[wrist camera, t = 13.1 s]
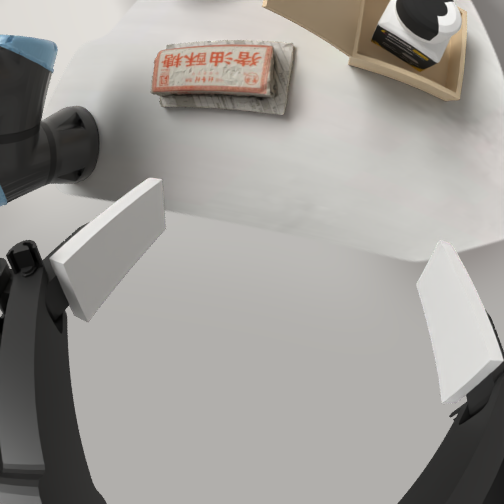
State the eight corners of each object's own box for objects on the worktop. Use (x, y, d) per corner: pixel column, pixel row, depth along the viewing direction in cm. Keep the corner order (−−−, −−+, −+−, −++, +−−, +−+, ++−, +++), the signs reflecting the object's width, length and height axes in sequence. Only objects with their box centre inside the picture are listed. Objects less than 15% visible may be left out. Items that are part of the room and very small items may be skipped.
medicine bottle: (369, 41, 23) (385, 6, 13) (389, 4, 19) (409, -37, 9) (419, 73, 23) (458, 54, 13) (438, 35, 19) (476, 8, 9)
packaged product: (144, 108, 31) (151, 40, 26) (163, 107, 35) (170, 46, 30) (279, 115, 27) (289, 34, 23) (286, 116, 32) (295, 45, 27)
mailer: (293, 52, 27) (261, 5, 13) (308, -25, 20) (286, -94, 7) (446, 101, 24) (515, 97, 10) (455, 21, 17) (510, -17, 3)
